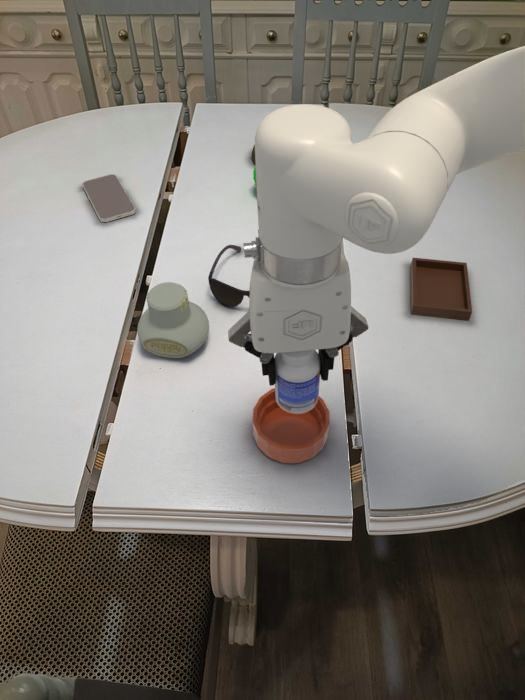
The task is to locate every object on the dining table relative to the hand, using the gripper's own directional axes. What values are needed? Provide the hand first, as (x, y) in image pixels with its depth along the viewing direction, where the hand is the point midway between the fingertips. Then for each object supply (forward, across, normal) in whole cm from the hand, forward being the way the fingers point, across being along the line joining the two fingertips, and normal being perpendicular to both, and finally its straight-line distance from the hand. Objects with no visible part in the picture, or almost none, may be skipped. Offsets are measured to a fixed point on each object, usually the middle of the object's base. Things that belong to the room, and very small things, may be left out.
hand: (297, 372), depth 62 cm
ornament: (+13, +3, +58) cm, 60 cm away
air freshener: (+13, -17, +19) cm, 28 cm away
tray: (+14, +28, +26) cm, 40 cm away
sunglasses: (+13, -3, +32) cm, 35 cm away
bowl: (+13, -1, 0) cm, 13 cm away
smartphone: (+12, -31, +60) cm, 68 cm away
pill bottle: (+5, 0, 0) cm, 5 cm away
